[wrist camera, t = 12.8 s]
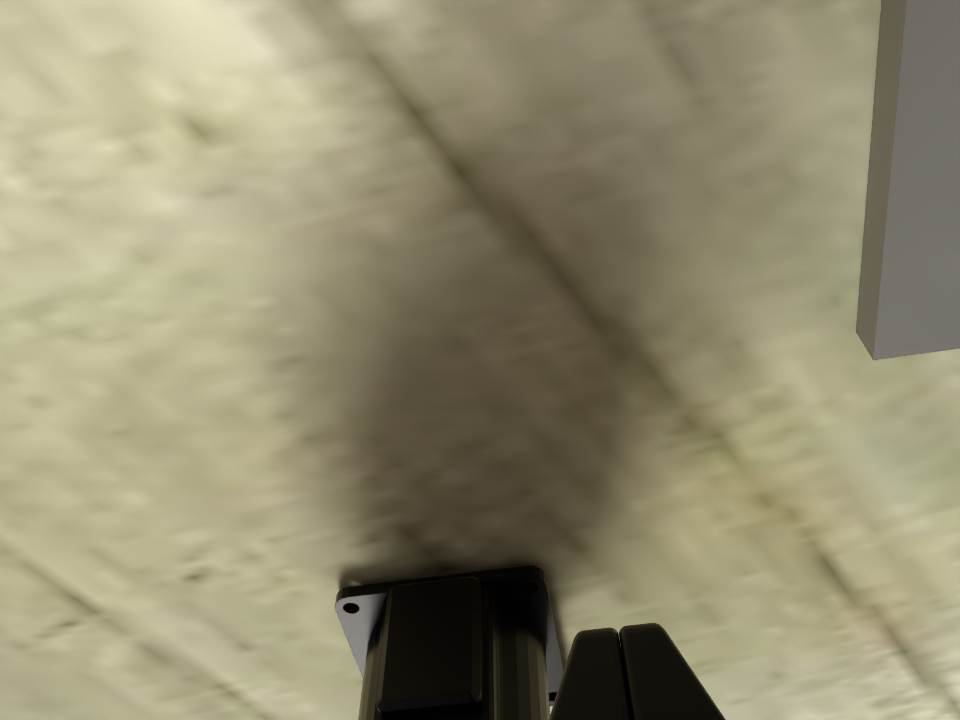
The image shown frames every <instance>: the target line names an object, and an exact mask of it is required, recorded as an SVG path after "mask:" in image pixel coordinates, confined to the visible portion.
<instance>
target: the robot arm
mask: <svg viewBox="0 0 960 720" xmlns="http://www.w3.org/2000/svg"><path fill="white" fill-rule="evenodd" d="M526 582H531V583H526ZM335 610H336V613H337V615H338V618H339V620H340V623H341V625H342V628H343V630H344V633H345V635H346V637H347V640H348V642H349V645H350V647H351V650H352V652H353V655H354V657H355V660H356V662H357V664H358V667H359V669H360V672H361V674H362V677H363V686H362V694H361V702H360V710H359V718H358V720H726V719H725V718H724V717H723V715H722V714H721V712H720V711H719V709H718V708H717V706H716V705H715V703H714V702H713V700H712V699H711V697H710V696H709V694H708V693H707V691H706V690H705V688H704V687H703V685H702V684H701V683H700V681H699V680H698V678H697V677H696V675H695V674H694V672H693V671H692V669H691V668H690V666H689V665H688V663H687V662H686V660H685V659H684V657H683V656H682V654H681V653H680V652H679V650H678V649H677V647H676V646H675V644H674V643H673V641H672V640H671V638H670V637H669V635H668V634H667V632H666V631H665V630H664V628H663V627H661V626H660V625H659V624H657V623H647V624H638V625H629V626H624V627H622V628H621V629H620V632H619V635H618V632H617V631H616V630H615V629H613V628H602V629H593V630H584V631H580V632H579V633H578V634H577V635H576V636H575V638H574V641H573V644H572V647H571V650H570V653H569V656H568V660H567V663H566V666H565V669H564V667H563V662H562V657H561V652H560V646H559V641H558V636H557V631H556V626H555V621H554V616H553V611H552V606H551V601H550V595H549V590H548V585H547V580H546V575H545V573H544V571H543V570H541V569H540V568H538V567H535V566H522V567H514V568H505V569H497V570H488V571H480V572H472V573H463V574H455V575H446V576H438V577H430V578H421V579H413V580H404V581H396V582H387V583H379V584H371V585H362V586H354V587H347V588H343V589H342V590H340V591H339V592H338V594H337V596H336V602H335ZM619 638H620V640H619ZM620 645H621V647H620ZM621 652H622V653H621ZM549 706H553V708H552V711H551V714H550V707H549Z"/></svg>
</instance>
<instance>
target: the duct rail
mask: <svg viewBox="0 0 960 720" xmlns="http://www.w3.org/2000/svg"><path fill="white" fill-rule="evenodd" d="M856 333H857V335H858V336H859V338H860V339H861V341H862V343H863V344H864V346H865V348H866V349H867V351H868V352H869V354H870V356H871V357H872V359H873V360H878V359H885V358H893V357H900V356H907V355H915V354H922V353H929V352H937V351H944V350H951V349H959V348H960V0H882V7H881V19H880V32H879V45H878V58H877V71H876V84H875V96H874V109H873V122H872V135H871V148H870V160H869V173H868V186H867V199H866V212H865V225H864V237H863V250H862V263H861V276H860V289H859V302H858V314H857V327H856Z"/></svg>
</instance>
